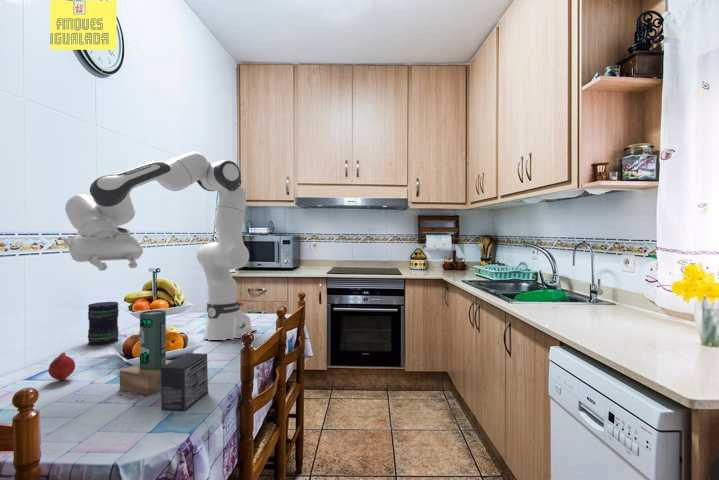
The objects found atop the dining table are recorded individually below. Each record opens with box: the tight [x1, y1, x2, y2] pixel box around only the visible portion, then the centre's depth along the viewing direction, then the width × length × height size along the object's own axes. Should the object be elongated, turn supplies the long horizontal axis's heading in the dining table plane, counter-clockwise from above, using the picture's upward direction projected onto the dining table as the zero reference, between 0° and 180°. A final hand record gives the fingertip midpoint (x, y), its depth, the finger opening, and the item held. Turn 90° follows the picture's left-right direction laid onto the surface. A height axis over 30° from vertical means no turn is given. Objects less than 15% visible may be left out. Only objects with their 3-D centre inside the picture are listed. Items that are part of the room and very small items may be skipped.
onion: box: [48, 352, 76, 382], centre depth 103 cm, size 6×6×8 cm
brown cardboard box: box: [119, 359, 172, 397], centre depth 101 cm, size 11×11×5 cm
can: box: [139, 309, 167, 370], centre depth 101 cm, size 6×6×15 cm
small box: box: [160, 352, 209, 412], centre depth 90 cm, size 11×6×10 cm, turn 173°
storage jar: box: [87, 301, 120, 347], centre depth 142 cm, size 10×10×15 cm
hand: (119, 267), depth 112 cm, fingers open, 8 cm apart
